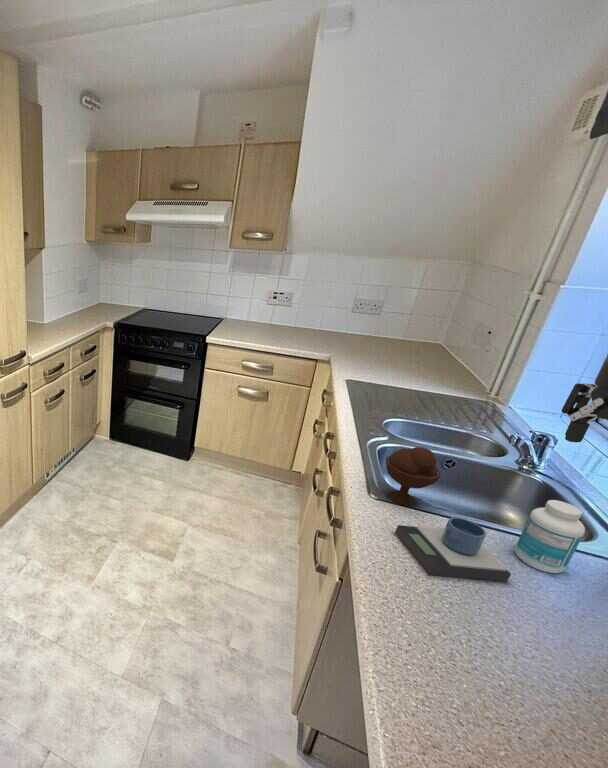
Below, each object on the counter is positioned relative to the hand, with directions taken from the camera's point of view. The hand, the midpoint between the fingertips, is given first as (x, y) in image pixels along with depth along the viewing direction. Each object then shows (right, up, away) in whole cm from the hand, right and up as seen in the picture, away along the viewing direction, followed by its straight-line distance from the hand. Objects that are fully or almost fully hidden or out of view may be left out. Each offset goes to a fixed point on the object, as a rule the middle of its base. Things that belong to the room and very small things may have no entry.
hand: (596, 452), depth 71 cm
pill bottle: (+5, -25, +14) cm, 29 cm away
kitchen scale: (-13, -24, +15) cm, 31 cm away
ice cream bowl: (-9, -17, +33) cm, 39 cm away
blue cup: (-12, -22, +14) cm, 28 cm away
